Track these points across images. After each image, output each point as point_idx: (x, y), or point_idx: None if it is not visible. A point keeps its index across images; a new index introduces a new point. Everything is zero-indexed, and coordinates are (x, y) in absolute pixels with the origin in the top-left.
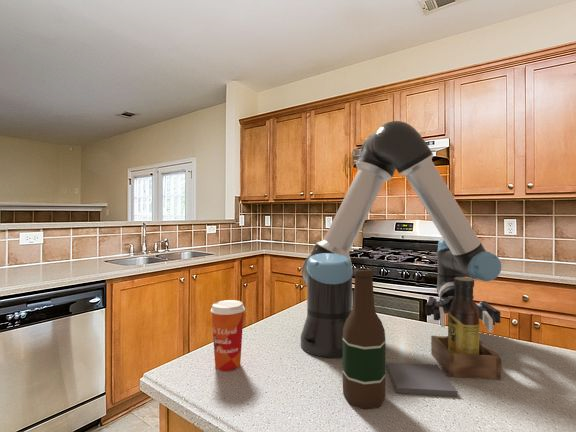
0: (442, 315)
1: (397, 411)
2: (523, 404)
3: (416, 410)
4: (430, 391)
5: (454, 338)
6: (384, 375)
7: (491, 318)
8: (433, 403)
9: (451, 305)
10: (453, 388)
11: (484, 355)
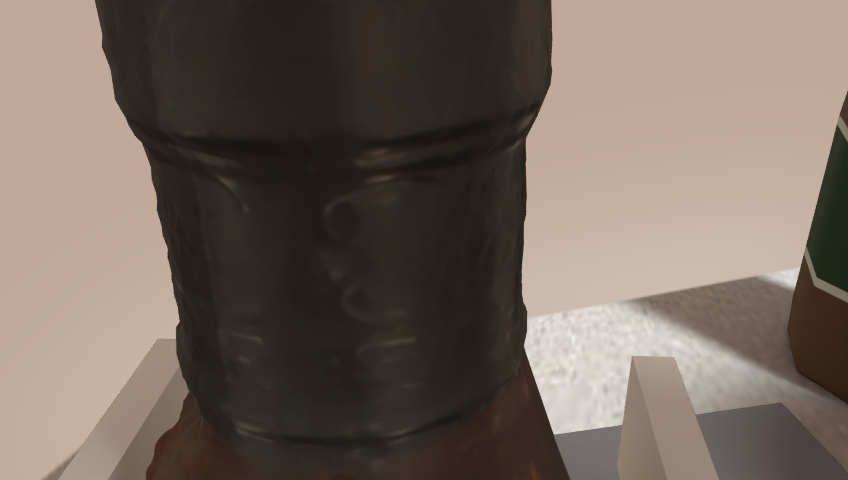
0: (657, 365)
1: (722, 335)
2: None
3: (664, 351)
4: None
5: None
6: (813, 272)
7: (145, 363)
8: (613, 396)
9: (564, 466)
10: None
11: None
